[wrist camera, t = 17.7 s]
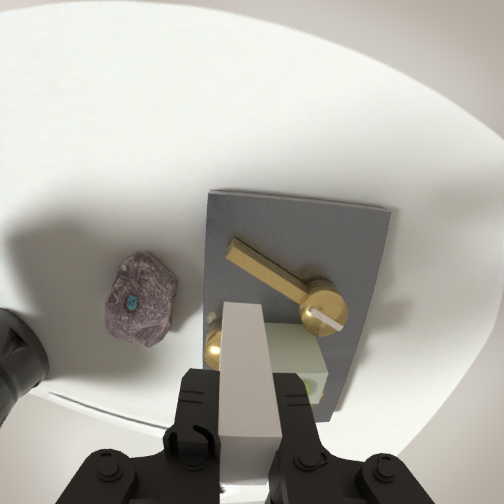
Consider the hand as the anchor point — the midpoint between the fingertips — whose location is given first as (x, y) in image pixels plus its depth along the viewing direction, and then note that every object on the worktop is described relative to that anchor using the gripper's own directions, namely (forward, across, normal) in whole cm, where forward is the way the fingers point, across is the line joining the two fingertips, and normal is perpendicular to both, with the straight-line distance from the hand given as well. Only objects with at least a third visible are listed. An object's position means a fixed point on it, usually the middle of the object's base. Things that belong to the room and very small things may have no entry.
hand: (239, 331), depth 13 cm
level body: (+21, +7, -15) cm, 26 cm away
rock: (+23, -10, -12) cm, 28 cm away
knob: (+20, +6, -7) cm, 22 cm away
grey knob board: (+23, +7, -15) cm, 28 cm away
